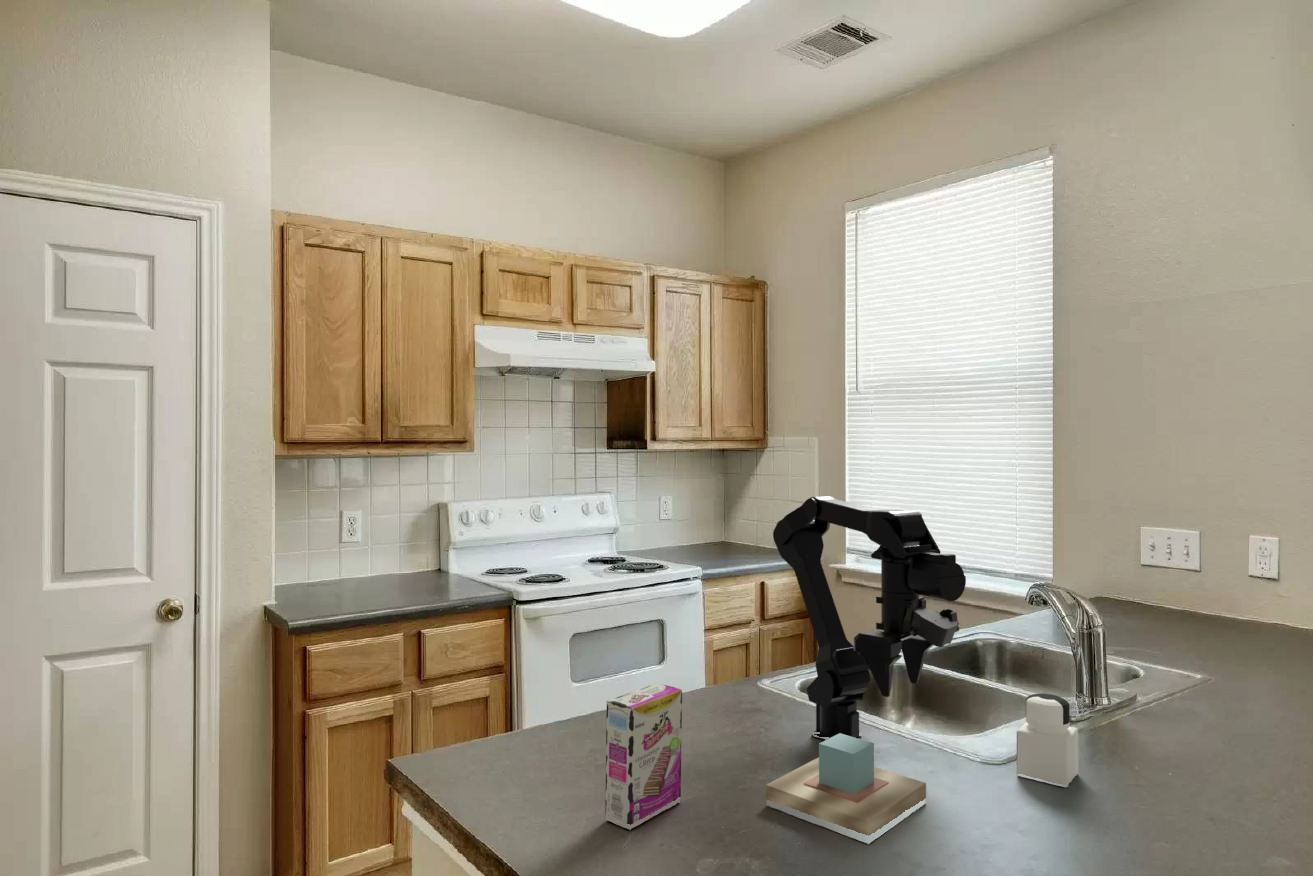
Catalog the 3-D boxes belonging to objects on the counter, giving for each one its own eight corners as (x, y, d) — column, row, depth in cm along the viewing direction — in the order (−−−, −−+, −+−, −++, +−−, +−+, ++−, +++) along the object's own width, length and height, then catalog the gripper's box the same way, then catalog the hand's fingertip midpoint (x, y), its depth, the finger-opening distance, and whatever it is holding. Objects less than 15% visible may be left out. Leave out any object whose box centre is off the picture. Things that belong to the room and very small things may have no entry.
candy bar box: (632, 833, 107) (631, 708, 107) (604, 822, 111) (603, 700, 111) (684, 803, 116) (683, 687, 116) (656, 794, 119) (656, 681, 119)
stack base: (765, 806, 115) (765, 783, 115) (827, 772, 127) (827, 751, 127) (868, 845, 104) (868, 820, 104) (926, 804, 116) (926, 781, 116)
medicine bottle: (1029, 762, 130) (1029, 687, 130) (1078, 774, 126) (1078, 696, 126) (1016, 777, 125) (1015, 698, 125) (1067, 789, 120) (1067, 708, 120)
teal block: (818, 782, 115) (818, 743, 115) (839, 771, 119) (839, 733, 119) (853, 794, 112) (853, 754, 112) (874, 782, 115) (873, 743, 115)
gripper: (921, 606, 117) (921, 716, 117) (975, 588, 130) (975, 687, 130) (851, 596, 124) (851, 699, 124) (909, 580, 138) (910, 673, 138)
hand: (900, 689), depth 129 cm, fingers open, 9 cm apart
